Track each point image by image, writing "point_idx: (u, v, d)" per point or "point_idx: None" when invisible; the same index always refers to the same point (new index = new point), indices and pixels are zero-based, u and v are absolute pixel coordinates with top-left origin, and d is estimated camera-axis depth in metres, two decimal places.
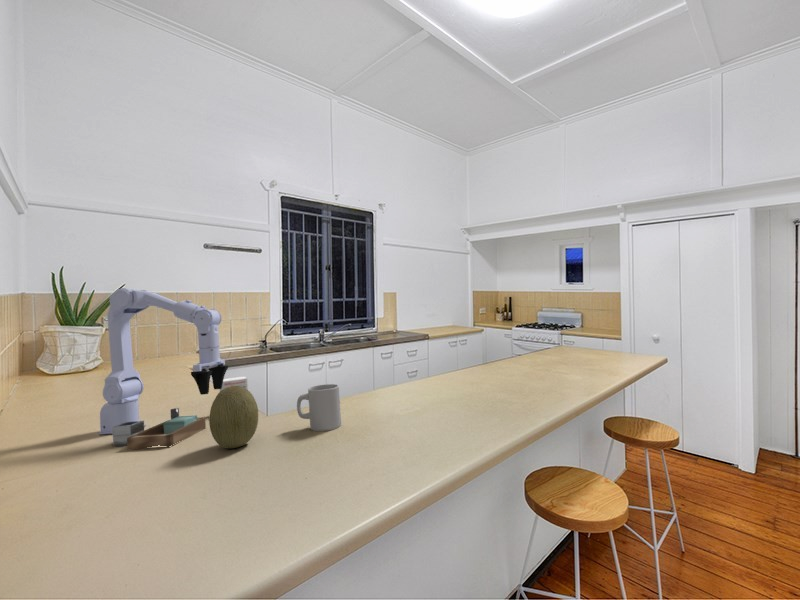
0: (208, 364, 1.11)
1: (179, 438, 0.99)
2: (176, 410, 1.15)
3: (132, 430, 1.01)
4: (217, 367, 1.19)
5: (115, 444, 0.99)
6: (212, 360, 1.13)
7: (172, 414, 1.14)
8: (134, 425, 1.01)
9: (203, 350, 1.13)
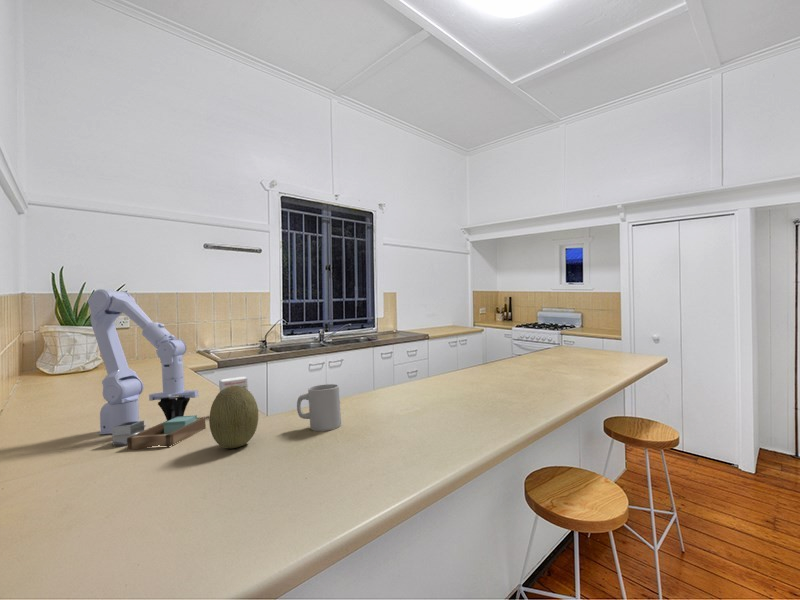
0: (157, 395, 1.14)
1: (179, 438, 0.99)
2: None
3: (132, 430, 1.01)
4: None
5: (115, 444, 0.99)
6: (163, 392, 1.14)
7: (172, 414, 1.14)
8: (134, 425, 1.01)
9: None
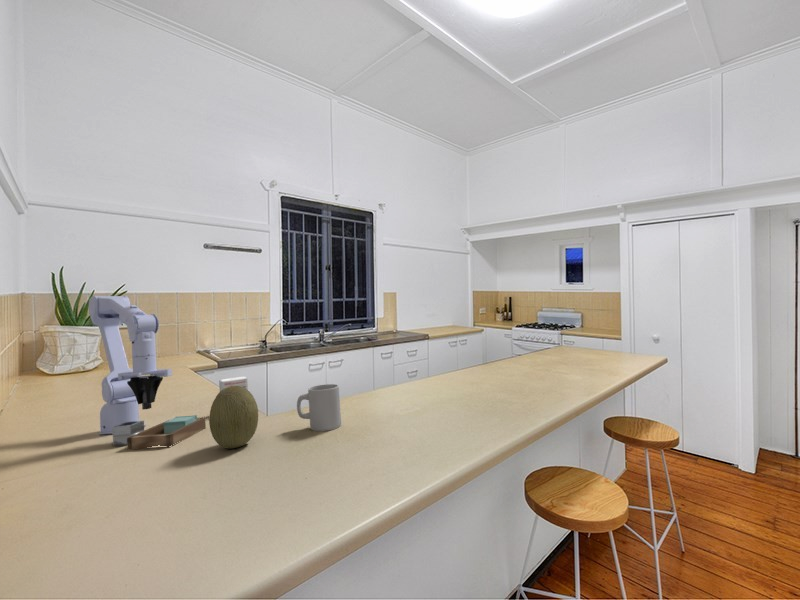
0: (126, 374, 1.06)
1: (179, 438, 0.99)
2: None
3: (132, 430, 1.01)
4: None
5: (115, 444, 0.99)
6: (133, 370, 1.06)
7: (143, 395, 1.07)
8: (134, 425, 1.01)
9: None
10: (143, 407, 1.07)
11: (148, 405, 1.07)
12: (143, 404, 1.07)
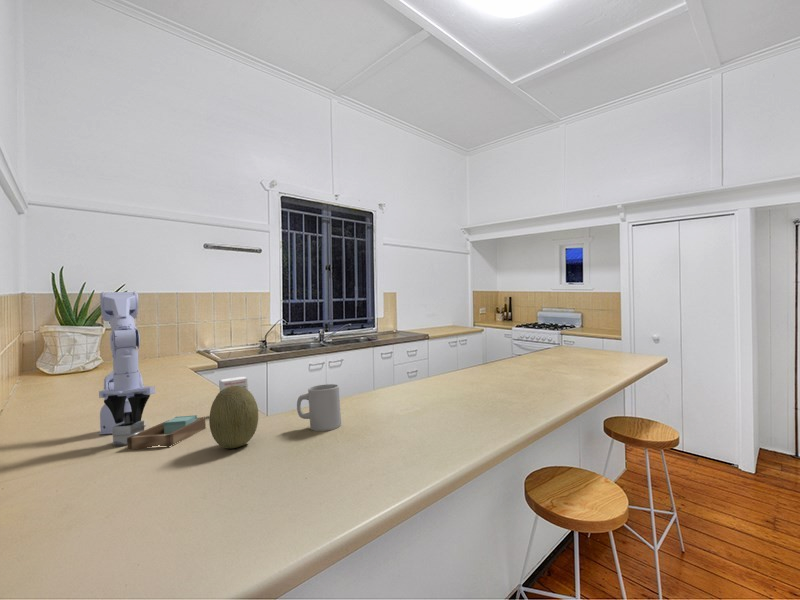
0: (107, 392, 1.01)
1: (179, 438, 0.99)
2: (130, 413, 1.03)
3: (132, 430, 1.01)
4: None
5: (115, 444, 0.99)
6: (114, 388, 1.01)
7: (125, 417, 1.02)
8: (134, 425, 1.01)
9: None
10: None
11: None
12: None
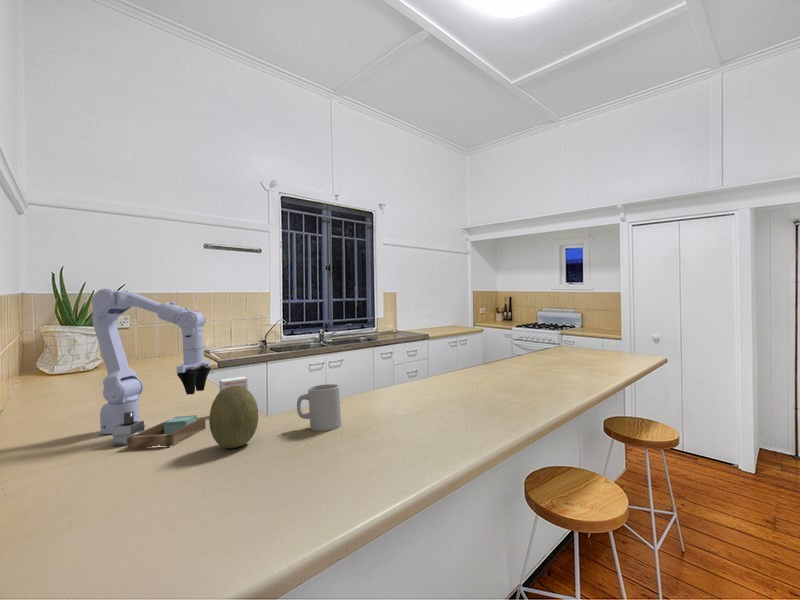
0: (192, 365, 1.13)
1: (179, 438, 0.99)
2: (130, 414, 1.02)
3: (132, 430, 1.01)
4: (199, 369, 1.20)
5: (115, 444, 0.99)
6: (196, 361, 1.15)
7: (125, 418, 1.02)
8: (134, 425, 1.01)
9: (187, 351, 1.15)
10: None
11: None
12: None
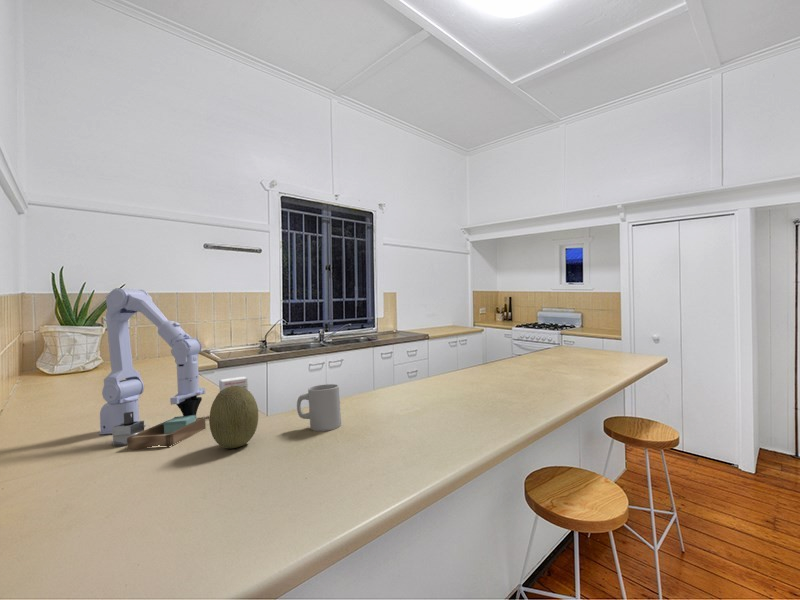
0: (186, 396, 1.09)
1: (179, 438, 0.99)
2: (130, 414, 1.02)
3: (132, 430, 1.01)
4: None
5: (115, 444, 0.99)
6: (191, 391, 1.11)
7: (125, 418, 1.02)
8: (134, 425, 1.01)
9: (181, 381, 1.11)
10: None
11: None
12: None
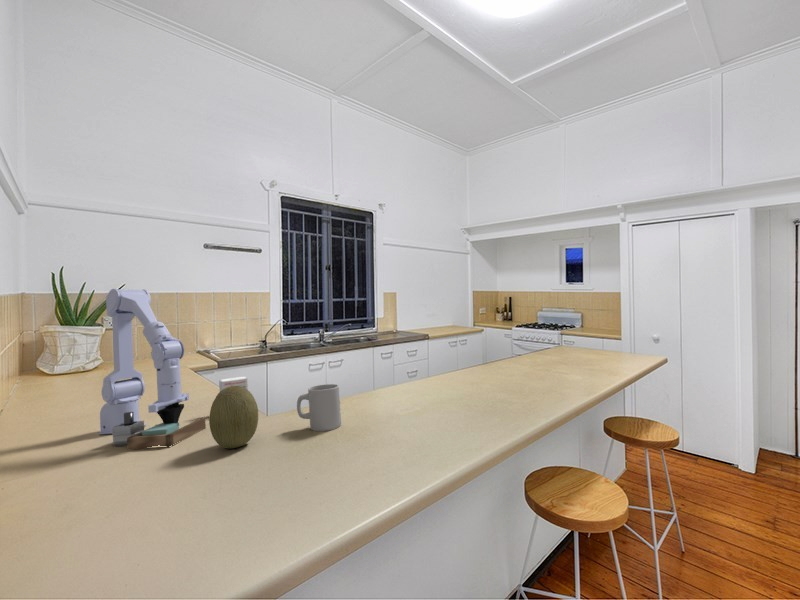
0: (166, 403, 1.01)
1: (179, 438, 0.99)
2: (130, 414, 1.02)
3: (132, 430, 1.01)
4: None
5: (115, 444, 0.99)
6: (172, 398, 1.03)
7: (125, 418, 1.02)
8: (134, 425, 1.01)
9: (161, 387, 1.02)
10: None
11: None
12: None
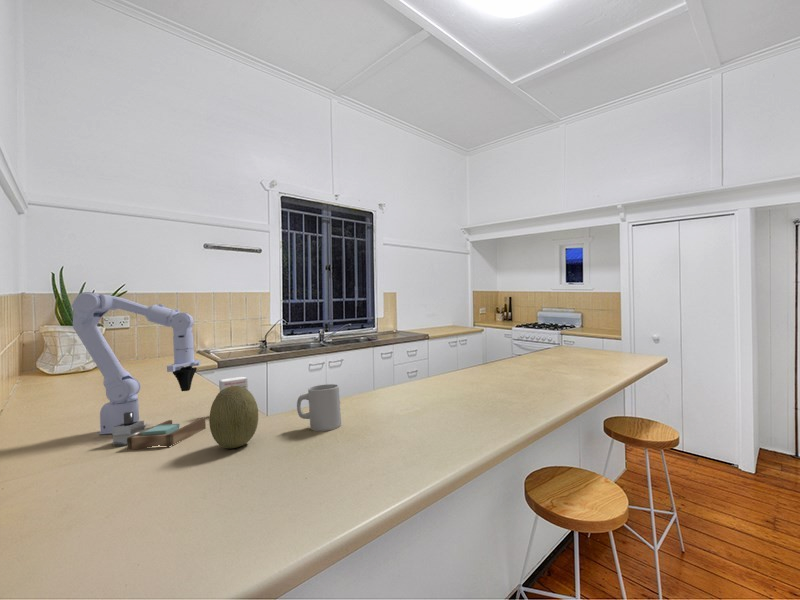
0: (182, 365, 1.18)
1: (179, 438, 0.99)
2: (130, 414, 1.02)
3: (132, 430, 1.01)
4: None
5: (115, 444, 0.99)
6: (186, 361, 1.20)
7: (125, 418, 1.02)
8: (134, 425, 1.01)
9: (177, 351, 1.19)
10: None
11: None
12: None
